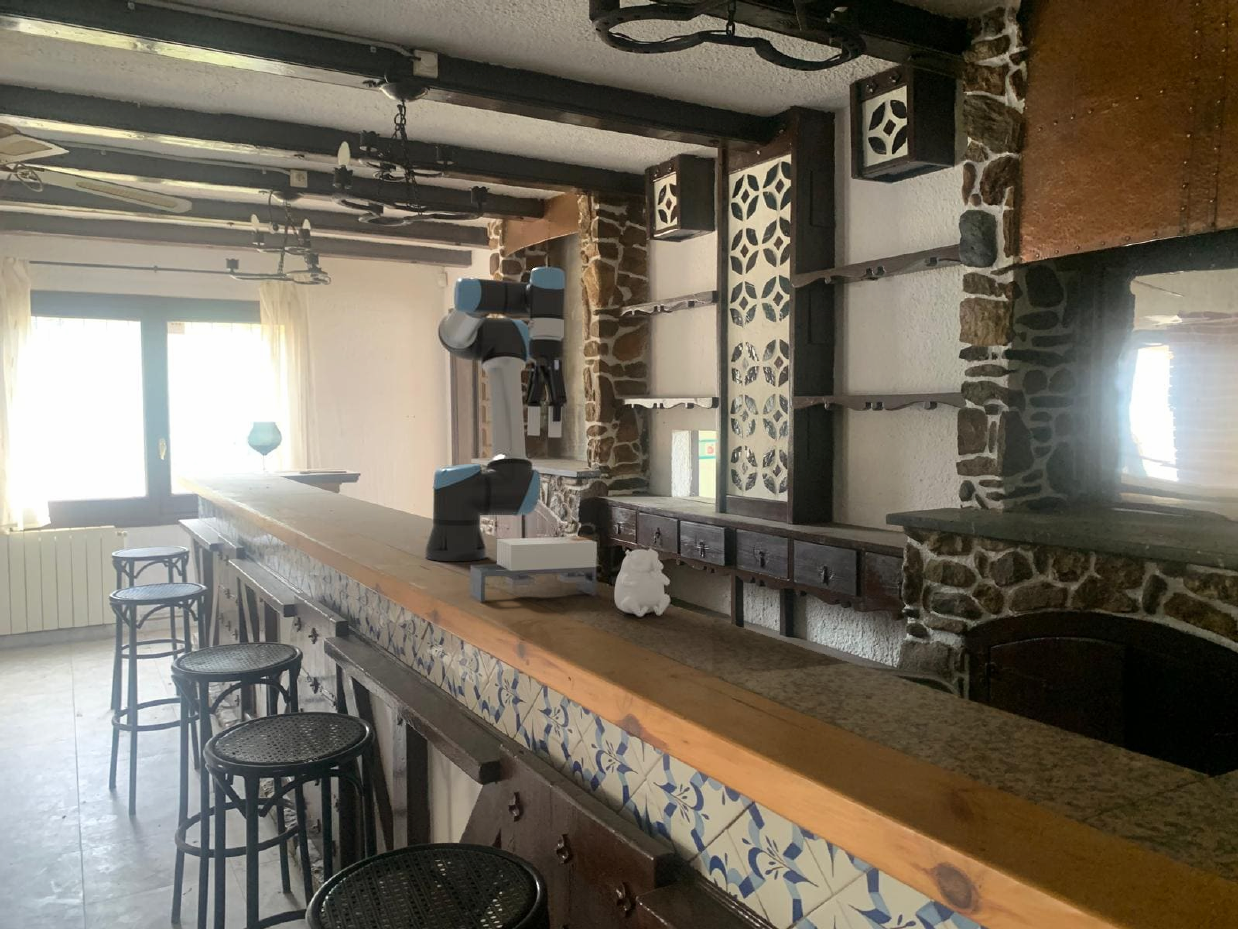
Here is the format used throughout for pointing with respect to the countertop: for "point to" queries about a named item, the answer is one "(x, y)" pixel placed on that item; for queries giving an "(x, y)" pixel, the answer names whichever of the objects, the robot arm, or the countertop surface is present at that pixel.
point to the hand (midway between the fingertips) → (543, 436)
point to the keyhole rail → (489, 570)
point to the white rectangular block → (546, 556)
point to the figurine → (641, 584)
